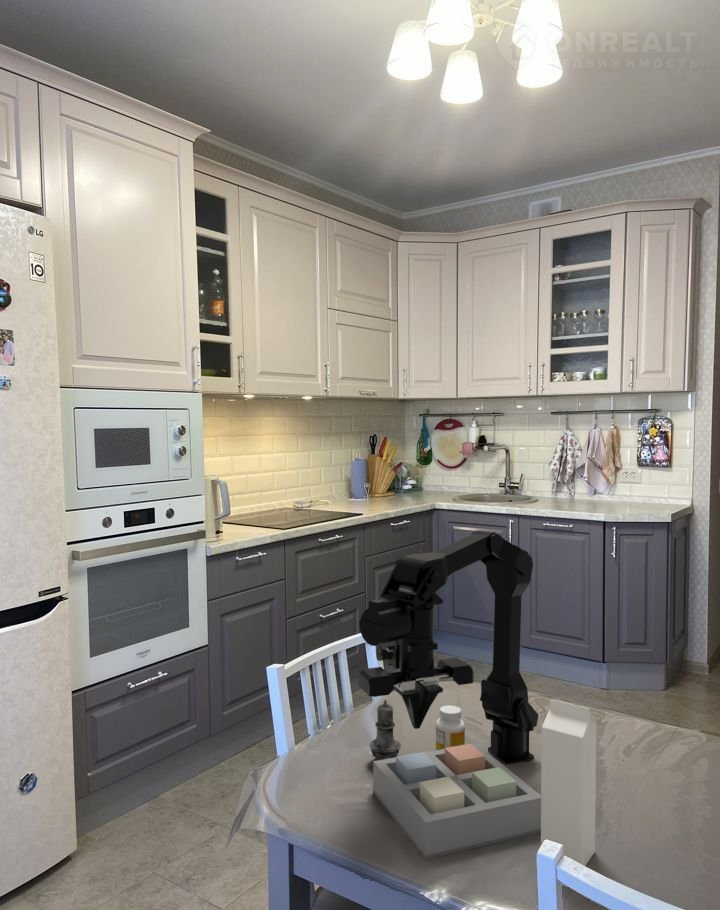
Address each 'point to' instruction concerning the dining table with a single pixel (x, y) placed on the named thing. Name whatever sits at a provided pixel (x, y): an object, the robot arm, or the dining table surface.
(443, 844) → the keypad
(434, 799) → the key cream
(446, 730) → the supplement bottle
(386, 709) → the grey chess piece
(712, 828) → the dining table surface
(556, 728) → the milk
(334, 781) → the dining table surface
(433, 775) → the key slate
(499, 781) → the key sage
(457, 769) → the key terracotta
